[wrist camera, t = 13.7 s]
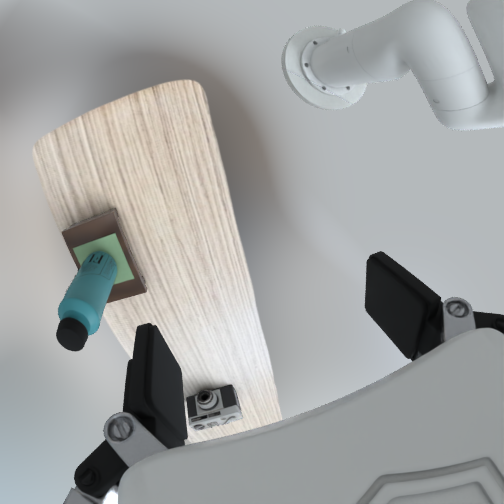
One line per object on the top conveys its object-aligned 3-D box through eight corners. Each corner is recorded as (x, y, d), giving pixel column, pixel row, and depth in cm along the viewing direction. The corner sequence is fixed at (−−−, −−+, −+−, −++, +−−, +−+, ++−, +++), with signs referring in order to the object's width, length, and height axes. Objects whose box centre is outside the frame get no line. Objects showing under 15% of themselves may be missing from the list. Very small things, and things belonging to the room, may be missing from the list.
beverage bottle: (112, 241, 42) (75, 314, 25) (125, 274, 45) (103, 356, 28) (81, 251, 41) (36, 323, 24) (95, 283, 44) (63, 362, 27)
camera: (227, 376, 67) (234, 406, 58) (236, 392, 71) (244, 420, 62) (179, 390, 66) (182, 420, 57) (192, 405, 70) (195, 433, 61)
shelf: (68, 225, 42) (60, 232, 39) (117, 206, 43) (113, 212, 40) (101, 296, 50) (97, 306, 46) (148, 282, 51) (146, 292, 48)
